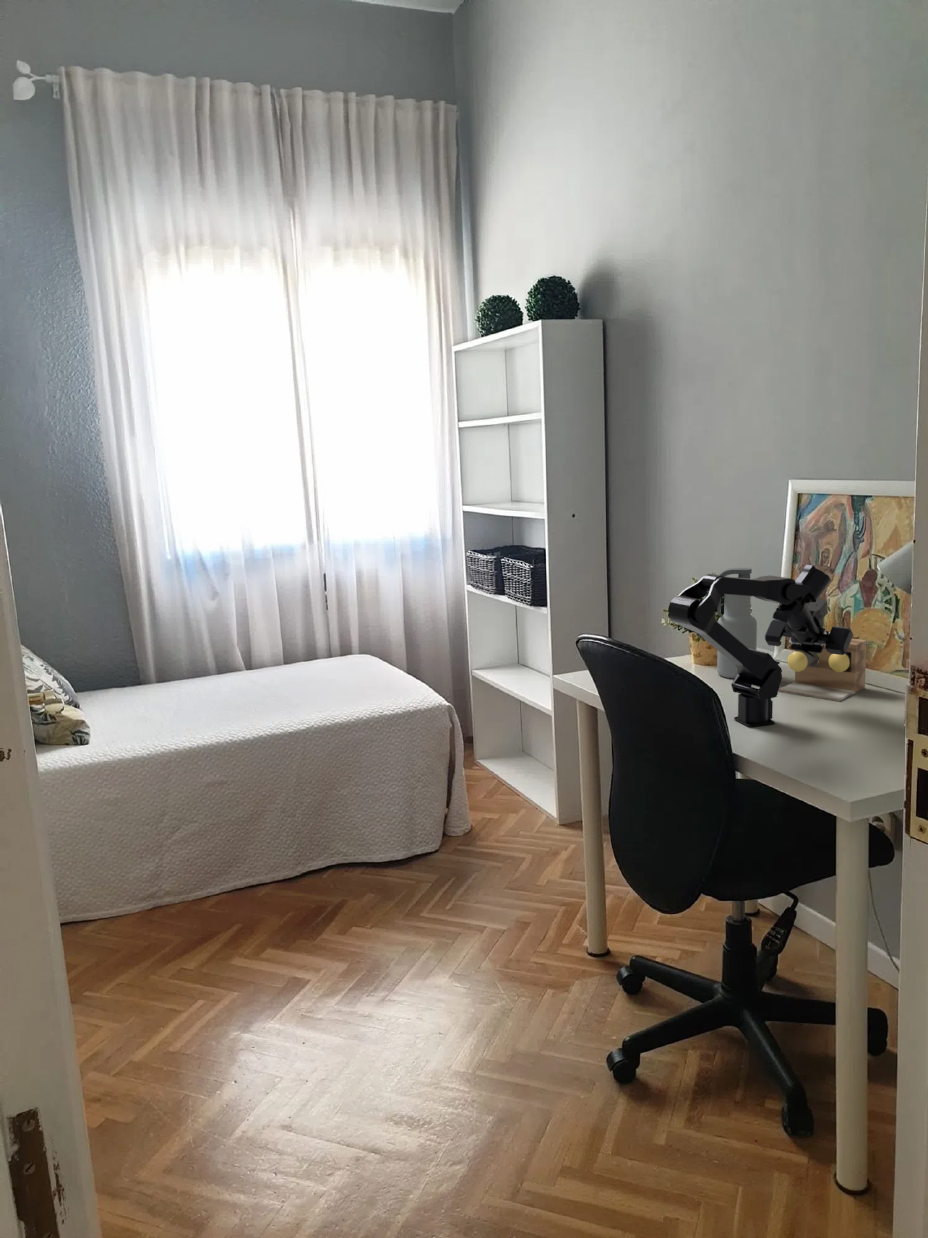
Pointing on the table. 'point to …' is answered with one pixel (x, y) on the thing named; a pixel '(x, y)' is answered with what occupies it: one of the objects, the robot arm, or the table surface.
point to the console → (832, 676)
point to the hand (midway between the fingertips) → (818, 657)
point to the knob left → (800, 661)
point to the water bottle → (736, 622)
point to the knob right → (840, 662)
